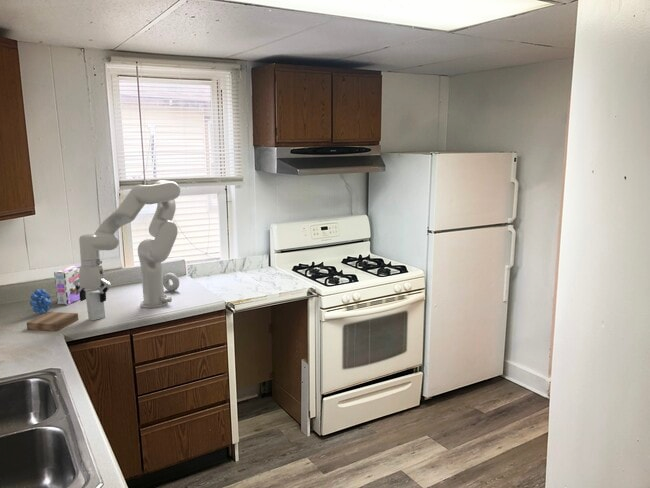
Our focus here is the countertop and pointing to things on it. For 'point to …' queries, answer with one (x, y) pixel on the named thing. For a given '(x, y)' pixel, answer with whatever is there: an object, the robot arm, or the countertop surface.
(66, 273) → the candy box
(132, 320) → the countertop surface
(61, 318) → the walnut board
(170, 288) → the donut
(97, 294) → the skincare box
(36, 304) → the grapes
